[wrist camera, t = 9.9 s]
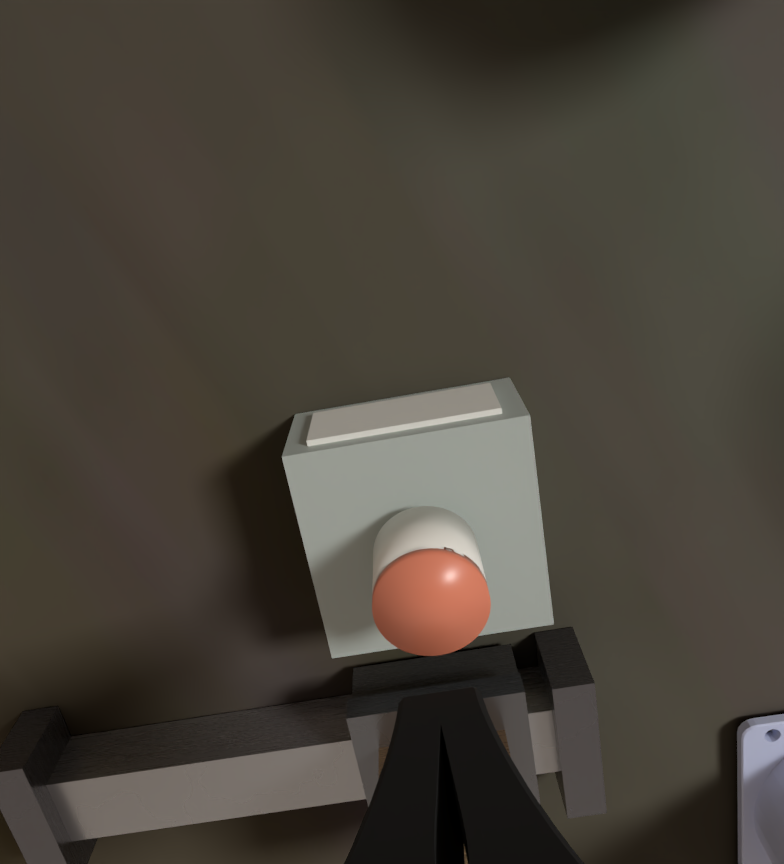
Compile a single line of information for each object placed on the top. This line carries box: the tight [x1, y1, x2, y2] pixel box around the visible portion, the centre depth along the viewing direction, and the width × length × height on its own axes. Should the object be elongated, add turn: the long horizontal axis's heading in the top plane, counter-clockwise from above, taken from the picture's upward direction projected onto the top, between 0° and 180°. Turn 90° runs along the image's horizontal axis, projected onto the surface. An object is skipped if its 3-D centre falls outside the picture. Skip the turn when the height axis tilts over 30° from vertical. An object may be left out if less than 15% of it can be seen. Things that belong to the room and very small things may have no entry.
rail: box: [0, 627, 607, 864], centre depth 23 cm, size 18×5×3 cm, turn 100°
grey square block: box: [282, 378, 554, 658], centre depth 20 cm, size 6×6×3 cm
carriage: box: [346, 644, 540, 864], centre depth 21 cm, size 5×6×7 cm
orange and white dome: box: [372, 506, 491, 656], centre depth 17 cm, size 3×3×2 cm
